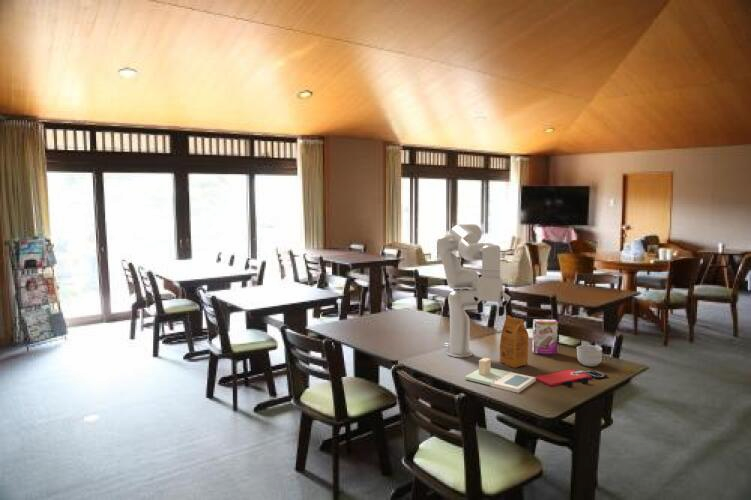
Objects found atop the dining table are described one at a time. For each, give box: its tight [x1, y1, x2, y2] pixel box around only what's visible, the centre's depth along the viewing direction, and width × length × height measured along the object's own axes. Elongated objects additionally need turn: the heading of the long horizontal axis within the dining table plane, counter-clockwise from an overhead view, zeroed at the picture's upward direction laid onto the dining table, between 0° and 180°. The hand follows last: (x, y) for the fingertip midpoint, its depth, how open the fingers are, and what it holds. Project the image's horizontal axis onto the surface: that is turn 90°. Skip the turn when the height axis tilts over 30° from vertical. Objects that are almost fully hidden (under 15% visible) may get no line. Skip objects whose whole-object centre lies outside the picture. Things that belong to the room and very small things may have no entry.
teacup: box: [576, 344, 603, 367], centre depth 238 cm, size 14×11×8 cm
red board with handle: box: [532, 368, 609, 388], centre depth 219 cm, size 30×3×15 cm
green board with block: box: [464, 357, 509, 386], centre depth 221 cm, size 11×17×7 cm
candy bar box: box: [531, 318, 559, 356], centre depth 255 cm, size 11×5×16 cm, turn 84°
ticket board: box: [489, 371, 537, 394], centre depth 214 cm, size 12×17×2 cm
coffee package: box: [499, 314, 529, 369], centre depth 238 cm, size 10×12×22 cm
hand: (490, 314), depth 221 cm, fingers open, 9 cm apart
